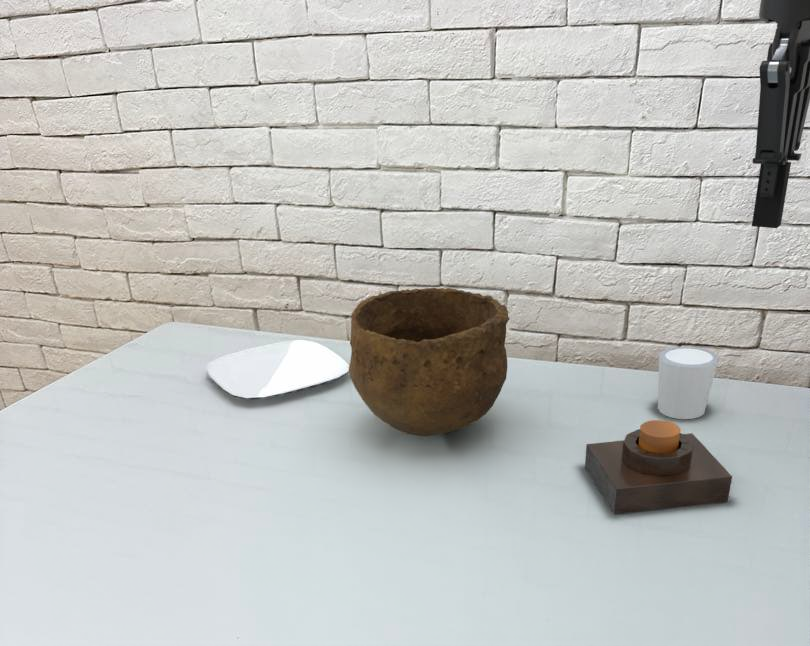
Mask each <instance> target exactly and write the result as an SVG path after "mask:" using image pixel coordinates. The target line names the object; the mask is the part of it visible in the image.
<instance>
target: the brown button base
mask: <svg viewBox="0 0 810 646" xmlns="http://www.w3.org/2000/svg"><path fill="white" fill-rule="evenodd" d="M639 434H640V428H637V429H635V430H633V431H631V432H629V433H627V434H625V437H624V439H623V440H614V441H605V442H594V443H587V444H586V445H585V447H586V448H585V458H584V459H585V460H584V470H585V471H586V473H587V474H588V476H589V477H590V479H591V480H592V482H593V484H594V486H595V487H596V488H597V490H598V492H599V493H600V495H601V496H602V498H603V499H604V501H605V503H606V504H607V506H608V507H609V509H610V510H611V512H612V514H613V515H622V514H630V513H639V512H649V511H658V510H667V509H676V508H684V507H693V506H703V505H712V504H720V503H728V502H729V498H730V493H731V486H732V480H733V475H732V474H730V473H729V471H728V469H726V468H725V467H724V466H723V465H722V463H720V462H719V460H717V458H716V457H715V456H714V455H713V454H712V452H710V451H709V449H708V448H707V447H706V446H705V445H704V444H703V443H702V442H701V440H700V439H698V437H696V436H695V434H693V433H682V432H680V439H679V446H678V450H676V451H674V452H668V453H656V452H648V451H646V450H644V449H642V448H639V446H638V443H639Z"/></svg>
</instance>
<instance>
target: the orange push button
mask: <svg viewBox="0 0 810 646" xmlns="http://www.w3.org/2000/svg"><path fill="white" fill-rule="evenodd" d="M639 429H640V434H639V443H638V446H639V448H642V449H644V450H646V451H648V452H656V453H668V452H674V451H676V450H678V446H679V439H680V433H682V432H681V427H680V426H679V425H678V424H676V423H675V422H672V421H668V420H663V419H653V420H648V421H645V422H643V423H642V424H641V425H640V427H639Z"/></svg>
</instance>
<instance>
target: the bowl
mask: <svg viewBox="0 0 810 646" xmlns="http://www.w3.org/2000/svg"><path fill="white" fill-rule="evenodd" d="M509 321H510V317H509V311H508V307H507V306H506V305H505V304H502V303H500V302H499V300H498V299H495V298H494V297H493V296H492V295H483V294H481V293H478V292H477V293H474V292H471V291H465V290H462V289H457V288H452V287H446V288H444V287H439V288H436V287H425V288H414V289H401V290H398V289H397V290H390V291H385V292H384V293H379V294H377V295H372V296H368V297H366V298H365V299H362V300H361V301H360V302H359V303H358V304H357V305H356V307H355V308H354V309H353V311H352V313H351V315H350V339H349V345H350V347H351V355H350V360H349V373H348V374H349V379H350V380H351V382H352V384H353V386H354V388H355V390H356V392H357V393H358V395H359V397H360V398H361V399H362V401H363V402H364V404H365V405H366V406H367V408H368V409H369V410H370V411H371V412H372V414H373V415H374V416H376V417H377V418H378V419H380V420H381V421H382V422H384V423H385V424H387V425H389V427H392V428H393V429H394V430H397V431H398V432H402V433H404V434H409V435H413V436H420V437H421V436H422V437H433V436H439V435H443V434H447V433H452V432H455V431H457V430H461V429H463V428H465V427H468V426H470V425H473V423H475V422H477V421H479V420H480V419H481V418H483V417H485V415H487V413H488V412H489V411H490V410H491V409H492V407H493V406H494V405H495V403H496V400H497V399H498V397H499V395H500V393H501V392H502V389H503V386H504V384H505V382H506V380H507V375H508V366H509V365H508V357H507V356H508V355H507V349H506V347H505V345H506V338H507V337H506V336H507V324H508V322H509Z"/></svg>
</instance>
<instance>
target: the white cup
mask: <svg viewBox="0 0 810 646" xmlns="http://www.w3.org/2000/svg"><path fill="white" fill-rule="evenodd" d="M718 362H719V356H718V355H717V353H716V352H714V351H711V350H709V349H707V348H703V347H699V346H698V347H697V346H688V345H687V346H674V347H673V346H672V347H668V348H665V349H663V350H662V351H660V353H659V355H658V382H657V383H658V385H657V386H658V387H657V388H658V389H657V390H658V391H657V410H658V411H659V413H661V414H662V415H664V416H666V417H669V418H671V419H679V420H693V419H697V418H700V417H702V416H703V415H705V412H706V408H707V404H708V401H709V396H710V393H711V389H712V385H713V381H714V377H715V373H716V370H717V366H718Z"/></svg>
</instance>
